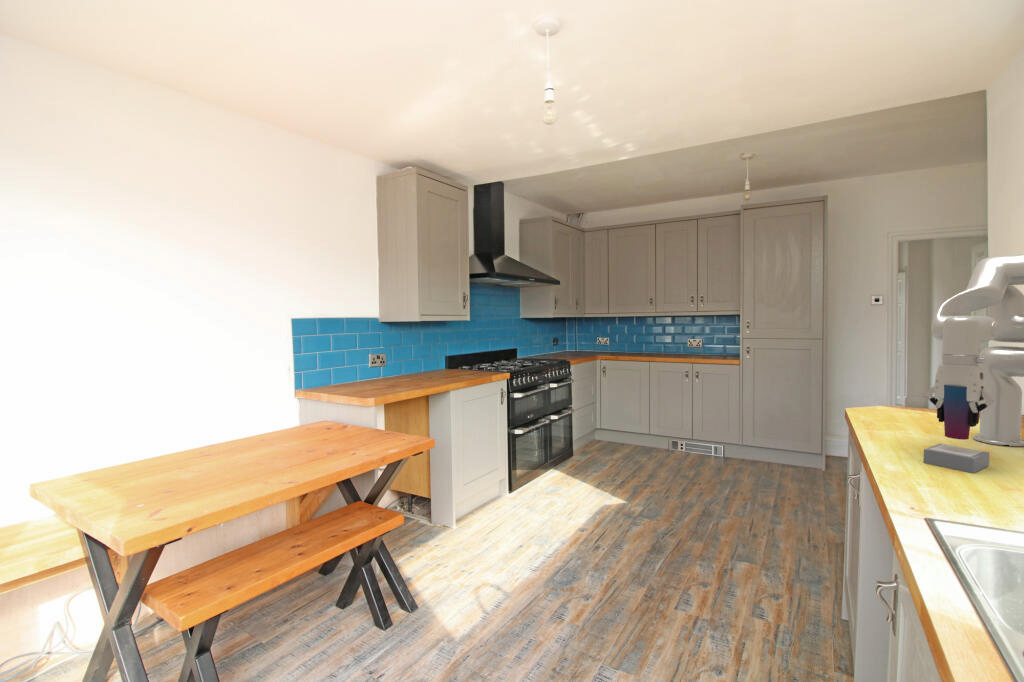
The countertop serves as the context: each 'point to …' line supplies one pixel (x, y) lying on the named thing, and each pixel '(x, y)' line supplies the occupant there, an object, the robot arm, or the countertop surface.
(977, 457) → the riser
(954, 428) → the cup
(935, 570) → the countertop surface
